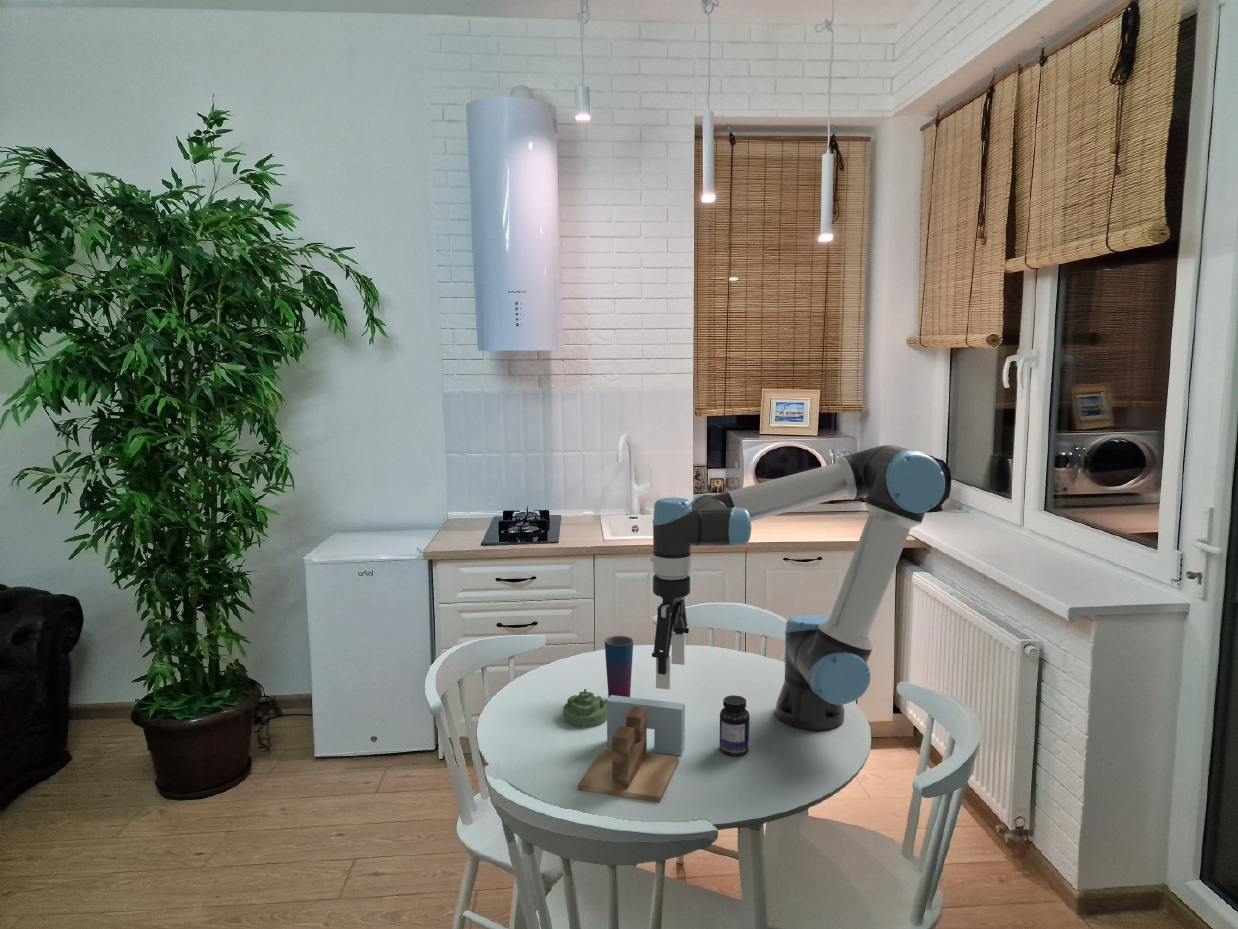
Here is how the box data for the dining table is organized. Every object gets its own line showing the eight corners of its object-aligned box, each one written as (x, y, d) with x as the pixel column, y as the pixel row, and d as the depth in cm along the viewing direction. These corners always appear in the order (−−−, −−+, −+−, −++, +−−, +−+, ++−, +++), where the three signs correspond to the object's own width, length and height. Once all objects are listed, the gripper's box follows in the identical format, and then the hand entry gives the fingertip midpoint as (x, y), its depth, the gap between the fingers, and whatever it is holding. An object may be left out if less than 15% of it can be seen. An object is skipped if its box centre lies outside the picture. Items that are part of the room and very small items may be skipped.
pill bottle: (729, 740, 178) (730, 691, 177) (754, 749, 174) (755, 698, 173) (713, 751, 173) (714, 700, 172) (739, 760, 170) (739, 708, 168)
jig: (678, 761, 169) (679, 709, 168) (660, 802, 154) (660, 745, 152) (603, 751, 174) (603, 700, 172) (578, 789, 158) (577, 734, 157)
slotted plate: (684, 749, 174) (684, 703, 173) (681, 756, 171) (681, 709, 170) (611, 739, 179) (611, 695, 177) (607, 746, 176) (606, 700, 175)
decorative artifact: (613, 724, 187) (599, 706, 196) (613, 694, 186) (599, 678, 195) (570, 731, 183) (558, 713, 192) (570, 701, 182) (557, 684, 192)
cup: (630, 708, 194) (630, 646, 192) (602, 706, 196) (601, 644, 194) (635, 696, 201) (635, 636, 199) (608, 694, 202) (607, 634, 200)
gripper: (667, 559, 182) (667, 652, 184) (637, 590, 158) (637, 697, 161) (701, 561, 179) (700, 656, 182) (676, 593, 156) (675, 701, 159)
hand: (670, 675), depth 171 cm, fingers open, 13 cm apart
